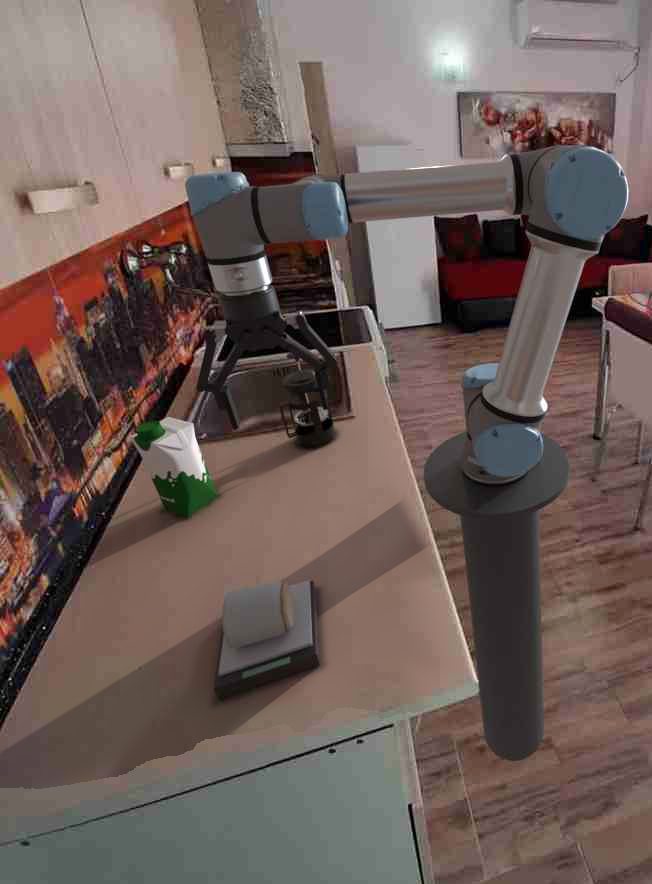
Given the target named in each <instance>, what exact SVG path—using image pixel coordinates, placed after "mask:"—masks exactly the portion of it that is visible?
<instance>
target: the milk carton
mask: <svg viewBox="0 0 652 884" xmlns="http://www.w3.org/2000/svg"><path fill="white" fill-rule="evenodd" d="M134 430H135V432H136V433H134V434H132V435H130V436H129V438H130V440H131V442H132V443H133V445H134V446H135V449H136V450H137V451H138V453H139V455H140V457H141V458H142V461H143V462H144V465H145V467H146V469H147V471H148V474H149V476H150V478H151V480H152V483H153V486H154V488H155V489H156V492H157V494H158V497H159V499H160V501H161V504H162V506H163V508H164V510H165V511H168V512H171V513H174V514H177V515H179V516H182V517H184V518H190V517H191V516H192V515H194V514H195V513H197V512H198V511H200V510H201V509H202V508H204V507H205V506H206V505H208V504H209V503H210V502H212V501H213V500H215V499H216V498H217V497H218V496H219V495H218V493H217V490H216V488H215V486H214V483H213V480H212V477H211V476H210V473H209V470H208V467H207V465H206V462H205V459H204V457H203V454H202V452H201V449H200V446H199V444H198V441H197V438H196V433H195V426H194V423H193V422H190V421H185V420H182V419H177V418H174V417H169V416H167V417H166V418H163V419H161V420H149V421H145V422H143V423H141V424H138V425H137V427H135V429H134Z"/></svg>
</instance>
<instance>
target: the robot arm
mask: <svg viewBox="0 0 652 884" xmlns="http://www.w3.org/2000/svg"><path fill="white" fill-rule="evenodd" d="M628 184H629V183H628V180H627V176H626V174H625V172H624V169H623V168H622V165H620V163H619V162H618V161H617V159H616V158H615V157H613V156H612V155H611V154H609V153H607V152H606V151H604V150H601V149H600V148H597V147H596V146H589V145H583V144H579V145H570V144H557V145H553V146H548V147H544V148H540V149H536V150H530V151H525V152H518V153H508V154H505V155H504V156H503V157H502V158H501V159H500V160H499V161H491V162H479V163H477V162H476V163H465V164H453V165H441V166H440V165H439V166H426V167H413V168H399V169H385V170H375V171H374V170H373V171H363V172H350V173H347V172H346V173H344V174H343V173H342V174H337V173H336V174H321V173H315V174H308V175H305V176H304V177H301V178H300V179H299V180H297V181H295V182H293V183H287V184H278V185H277V184H276V185H268V186H253V185H252V186H250V183H249V182H248V181H247V177H246V176H245V175H244V174H243V172H241V171H225V172H223V171H221V172H210V173H201V174H194V175H191V176H189V177H188V178H186V180H185V181H184V188H185V192H186V196H187V201H188V204H189V209H190V215H191V217H192V220H193V222H194V225H195V228H196V231H197V234H198V237H199V241H200V243H201V246H202V249H203V252H204V255H205V259H206V262H207V266H208V269H209V272H210V276H211V279H212V283H213V285H214V288H215V290H216V291H217V292H219V295H218V301H219V305H220V308H221V311H222V314H223V318H224V321H225V326H214V325H213V324H208V325H207V326H205V329H204V332H203V336H204V342H205V348H204V353H203V356H202V362H201V366H200V370H199V374H198V379H197V383H196V388H195V389H196V391H197V392H199V393H204V392H210V393H212V395H213V397H214V401H215V403H216V406H217V409H218V410H219V411H220V412H221V411H222V412H223V411H226V412H227V415H228V418H229V421H230V424H231V428H232V430H233V431H234V430H239V428H240V422H241V420H240V417H239V414H238V410H237V408H236V405H235V402H234V399H233V396H232V393H231V390H230V387H229V385H228V384H226V385H225V383H226V381H227V380H228V379H229V376H230V375H231V373H232V371H233V369H234V368H235V366H236V365H237V363H238V361H239V359H240V358H241V357H242V355H243V354H244V352H245V351H248V352H251V353H254V352H259V351H261V350H271V349H274V348H275V347H276V346H279V347H280V348H282V349H283V350H287V351H288V352H289V353H290V352H291V353H293V354H294V355H296V356H297V357H299V360H302V361H303V362H304V363H306V364H308V366H311V367H312V368H313V369H314V371H315V377H316V381H317V385H318V389H319V392H318V393H319V397H320V398H321V402H322V404H321V405H322V406H321V407H323V410H328V404H327V399H328V398H327V399H326V395H325V391H326V390H327V389H331V381H330V376H329V372H328V371H329V369H330V368H332V367H336V366H337V365H338V360H337V357H336V354H335V353H334V352H333V351H332V350H331V348H329V347H328V345H327V344H326V343H325V342H324V341H323V339H322V338H321V337H320V336H319V335H318V333H316V332H315V330H314V329H313V328H312V327H311V325H310V324H308V321H307V319H306V317H305V314H304V311H303V310H297V311H296V312H295V313H294V314H291V315H287V316H285V315H283V313H282V311H281V308H280V304H279V299H278V297H277V293H276V289H275V286H273V285H272V282H273V277H272V273H271V269H270V265H269V261H268V257H267V254H266V250H265V246H264V245H273V244H282V243H283V244H284V243H295V242H307V241H308V242H309V241H320V242H324V241H327V240H331V239H338V238H343V237H344V236H346V235H347V233H348V230H349V224H354V223H363V222H375V221H376V222H377V221H387V220H398V219H399V220H401V219H410V218H411V219H413V218H421V217H423V218H424V217H435V216H446V215H457V214H470V213H471V214H472V213H482V212H483V213H484V212H493V211H504V212H505V213H506V214H508V215H509V216H519V215H526V216H529V217H528V220H527V224H526V227H525V230H524V231H525V234H526V236H527V238H528V240H529V242H530V244H531V247H530V251H529V254H528V258H527V262H526V263H525V264H526V265H525V267H524V272H523V276H522V280H521V283H520V286H519V290H518V294H517V297H516V301H515V304H514V308H513V312H512V315H511V318H510V322H509V326H508V330H507V333H506V337H505V339H504V340H505V341H504V343H503V348H502V351H501V355H500V357H499V362H497V363H496V362H495V363H494V362H493V363H483V364H478V365H475V366H473V367H470V368H468V369H467V370H465V371H464V372H463V374H462V376H461V385H460V387H461V388H462V397H463V398H462V399H463V408H464V419H465V429H466V431H467V438H466V442H465V446H464V449H463V453H462V457H461V468H462V472H463V474H464V475H465V477H466V478H467V479H469V480H470V481H472V482H474V483H476V484H479V485H483V486H491V487H496V486H505V485H509V484H513V483H515V482H517V481H519V480H521V479H522V478H524V477H525V476H526V475H527V474H528V473H529V471H530V469H531V468H533V467H534V466H535V465H536V464H537V463H539V460H540V458H541V456H542V453H543V439H542V437H541V435H540V433H541V428H542V425H543V422H544V420H545V416H546V413H547V410H548V403H547V401H546V400H545V398H544V396H543V393H544V390H545V388H546V384H547V381H548V378H549V374H550V371H551V368H552V366H553V362H554V359H555V357H556V353H557V350H558V346H559V343H560V340H561V338H562V335H563V331H564V329H565V325H566V321H567V318H568V315H569V312H570V310H571V306H572V303H573V300H574V297H575V293H576V291H577V289H578V288H577V287H578V284H579V282H580V279H581V276H582V272H583V269H584V266H585V263H586V262H587V260H588V259H590V258H592V257H593V256H595V255H598V254H599V252H600V250H601V246H602V243H603V240H604V238H605V235H606V234H607V233H608V232H610V231H611V230H613V229H614V228H615V227H616V226H617V225H618V223H620V221H621V219H622V217H623V215H624V213H625V211H626V208H627V205H628V199H629V185H628ZM288 325H290V326H292V328H293V329H295V330H298V329H299V331H300V333H301V334H302V336H304V338H305V339H306V340H307V341H308V342H309V344H311V345H312V347H313V348H314V349H315V350H316V351H317V353H318V354H320V356H321V357H322V358H323V359H322V358H321V357H320V356H318V355H316V353H314V352H312V351H311V350H309V349H308V348H307V347H306V346H304V345H302V344H301V343H299V342H298V341H297V340H295V339H294V338H292V337H291V336H290V335H289V334H287V333H286V332H285V331H286V328H287V327H288ZM224 336H226V337H228V338H229V339H230V340H232V341H233V342H234V345H233V347H232V349H231V350H230V352H229V354H228V355H227V358H226V359H225V361H224V362H223V364H222V366H221V368H220V369H219V371H218V373H217V374H216V376H215V378H214V379H213V380H212V379H211V380H210V374H211V370H212V365H213V362H214V357H215V353H216V351H217V345H218V343H220V342H221V341H222V339H223V337H224ZM324 389H325V391H324ZM320 398H319V399H320Z"/></svg>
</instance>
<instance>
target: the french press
mask: <svg viewBox="0 0 652 884" xmlns="http://www.w3.org/2000/svg"><path fill="white" fill-rule="evenodd" d="M285 357H286V358H287V359H294V362H296V363H297V364H296V365H297V367H298V370H294V371H292V372H289V373H287V374H286V375H284V376H283V377H282V378H281V381H280V382H281V384H282V385H283V386H284V388H285V391H286V392H287V393H289V394H288V395H287V396H286V400H285V401H281V402H280V403H278V409H279V412H280V416H281V419H282V423H283V426H284V431H285V434H286V436H287V437H288V439H292V438H295V437H296V444H297V445H298V447H300V448H303V449H318V448H321V447H324V446H327V445H328V444H330V443H331V442H333V441H334V440H335V439H336V438H337V430H336V428H335V425H334V421H333V416H332V413H331V407H330V403H329V399H328V395H327V390H326V389H324V391H325V395H326V399H327V404H328V410H323V406H320V405H322V402H321V398H318V399H317V400H313V401H311V402H310V401H309V397H308V394H307V393H319V389H318V385H317V381H316V377H315V371H314V368H304V369H301V366H300V361H301V359H300V358H299V357H297V356H296V355H294V354H293V353H291V352H290V351H289V352H288V353H287V354H286V356H285ZM297 396H298V399H299V403H300V404H299V403H298V404H297V403H291V402H290V401H292V399H294V398H295V397H297ZM286 406H287V408H288V412H289V414H290V418H291V423H292V426H293V430H294V431H293V432H289V428H288V425H287V421H286V417H285V413H284V411H283V408H284V407H286ZM293 410H298V411H299V410H300V411H299V412H297V413H296V414H295V415H294V414H293ZM324 430H325V431H324ZM314 431H315V434H314V435H308V434H309V433H311V432H314Z"/></svg>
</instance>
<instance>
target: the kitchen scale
mask: <svg viewBox="0 0 652 884" xmlns="http://www.w3.org/2000/svg"><path fill="white" fill-rule="evenodd" d="M290 588H291V591H292V596H293V603H294V622H293V626H292V628H291V630H290V631H289V632H287V633H285V634H283V635H281V636H278V637H274V638H270V639H266V640H263V641H260V642H256V643H253V644H249V645H245V646H242V647H238V648H235V649H231V648H229V646H228V645H227V642H226V639H225V636H224V631H223V629H222V630H221V637H220V644H219V645H220V646H219V651H218V652H219V653H218V659H217V665H216V666H217V668H216V671H215V672H216V674H215V679H214V680H215V681H214V687H213V689H214V691H215V693H216V696H217V697H218V700H219V701H220V700H224V699H227V698H230V697H232V696H236V695H238V694H241V693H244V692H247V691H249V690H252V689H257V688H258V687H261V686H264V685H268V684H270V683H273V682H276V681H279V680H281V679H282V680H283V679H285V678H287V677H290V676H293V675H296V674H299V673H302V672H305V671H308V670H311V669H314V668H317V667H319V666H321V652H320V636H319V635H320V634H319V617H318V616H319V614H318V596H317V588H316V585H315V581H314V579H311V580H310V579H307V580H305V581H301V582H297V583H294V584H290Z"/></svg>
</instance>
